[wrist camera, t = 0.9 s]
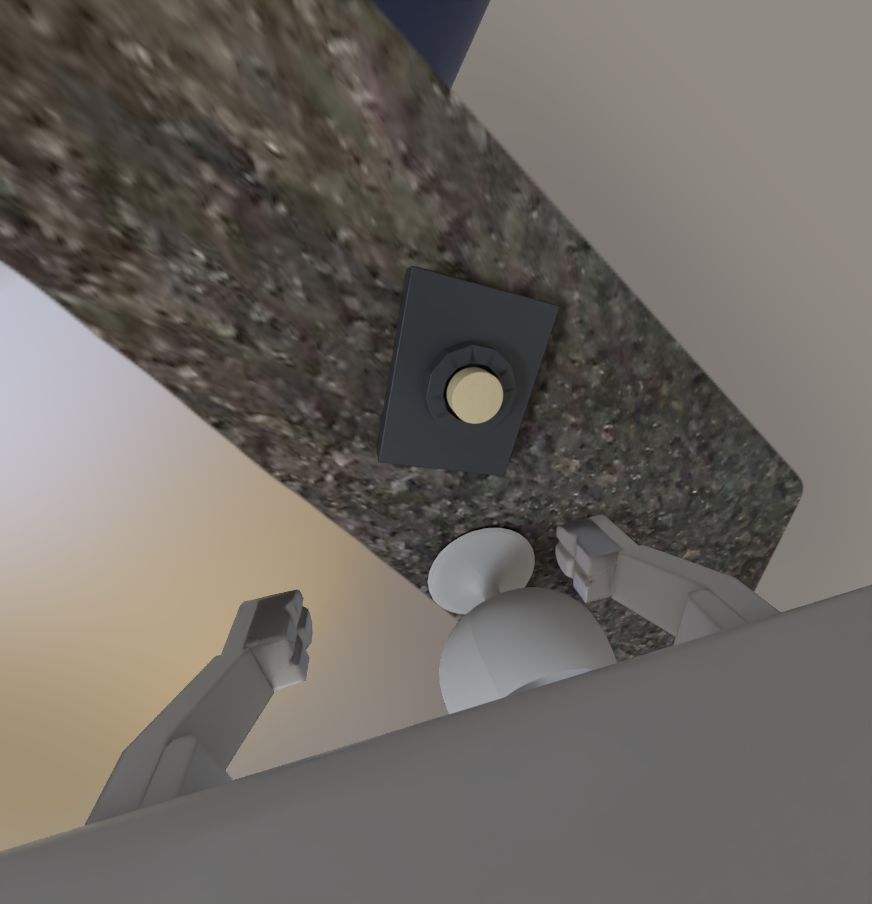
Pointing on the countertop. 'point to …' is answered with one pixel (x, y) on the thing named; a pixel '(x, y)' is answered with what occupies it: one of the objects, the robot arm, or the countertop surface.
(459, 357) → the push button plate
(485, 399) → the push button switch
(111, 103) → the countertop surface
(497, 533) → the chalice
